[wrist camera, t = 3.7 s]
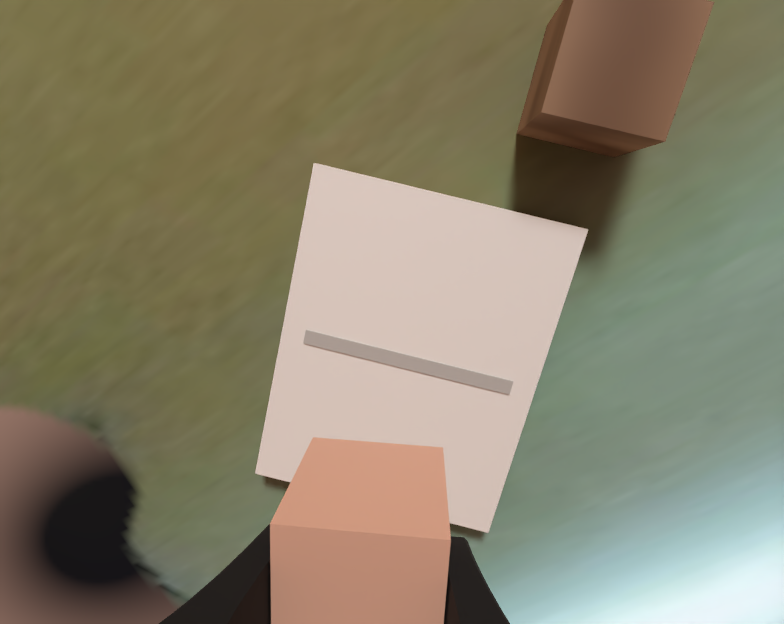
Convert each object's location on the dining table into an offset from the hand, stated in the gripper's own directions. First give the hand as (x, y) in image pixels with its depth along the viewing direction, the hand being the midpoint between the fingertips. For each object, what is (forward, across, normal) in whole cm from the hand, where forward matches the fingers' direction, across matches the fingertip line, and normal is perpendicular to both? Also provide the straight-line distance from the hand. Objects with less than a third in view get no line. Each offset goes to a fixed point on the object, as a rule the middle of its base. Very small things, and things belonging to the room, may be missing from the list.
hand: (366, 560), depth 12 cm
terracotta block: (+2, 0, 0) cm, 2 cm away
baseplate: (+9, -1, -3) cm, 9 cm away
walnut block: (+9, -7, -14) cm, 18 cm away
